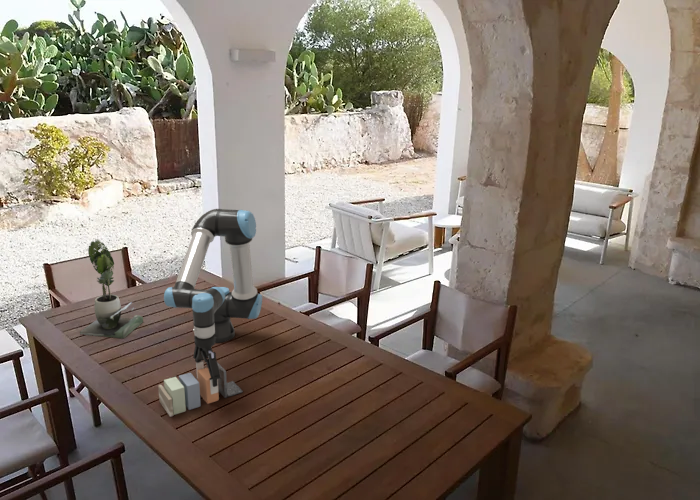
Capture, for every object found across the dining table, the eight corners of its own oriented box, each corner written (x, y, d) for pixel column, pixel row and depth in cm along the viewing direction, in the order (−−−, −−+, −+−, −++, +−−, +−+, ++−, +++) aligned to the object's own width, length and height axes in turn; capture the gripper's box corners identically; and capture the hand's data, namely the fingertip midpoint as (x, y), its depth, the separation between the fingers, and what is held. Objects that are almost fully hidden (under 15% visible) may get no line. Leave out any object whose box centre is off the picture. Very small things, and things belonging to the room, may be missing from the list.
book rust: (209, 389, 226) (208, 367, 223) (218, 400, 219) (217, 377, 216) (198, 393, 223) (197, 370, 220) (207, 403, 216) (206, 380, 213)
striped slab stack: (204, 387, 227) (204, 372, 225) (216, 401, 218) (216, 385, 216) (159, 401, 217) (158, 385, 215) (170, 416, 208) (168, 399, 205)
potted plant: (143, 321, 283) (135, 234, 270) (123, 338, 265) (114, 246, 252) (102, 318, 286) (92, 231, 272) (79, 334, 268) (68, 242, 255)
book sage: (177, 399, 218) (175, 376, 215) (185, 411, 211) (184, 387, 208) (165, 403, 216) (163, 379, 213) (173, 414, 209) (172, 390, 206)
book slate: (191, 395, 222) (190, 372, 218) (200, 406, 215) (199, 382, 212) (180, 398, 219) (178, 375, 216) (189, 410, 212) (187, 386, 209)
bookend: (233, 382, 231) (232, 357, 228) (242, 392, 224) (241, 366, 221) (215, 387, 227) (214, 362, 223) (224, 397, 220) (223, 371, 217)
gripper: (182, 324, 220) (186, 373, 227) (208, 350, 201) (210, 403, 207) (201, 320, 224) (204, 368, 231) (228, 345, 205) (230, 396, 212)
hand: (207, 384), depth 219 cm, fingers open, 13 cm apart
